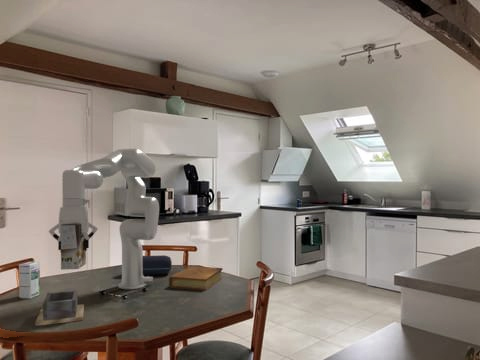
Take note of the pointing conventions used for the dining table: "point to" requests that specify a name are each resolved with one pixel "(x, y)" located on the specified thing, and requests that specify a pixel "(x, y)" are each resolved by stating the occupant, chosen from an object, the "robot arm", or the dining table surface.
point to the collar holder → (60, 308)
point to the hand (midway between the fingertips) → (73, 250)
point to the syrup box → (29, 280)
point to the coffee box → (72, 247)
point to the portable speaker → (156, 265)
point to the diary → (196, 278)
